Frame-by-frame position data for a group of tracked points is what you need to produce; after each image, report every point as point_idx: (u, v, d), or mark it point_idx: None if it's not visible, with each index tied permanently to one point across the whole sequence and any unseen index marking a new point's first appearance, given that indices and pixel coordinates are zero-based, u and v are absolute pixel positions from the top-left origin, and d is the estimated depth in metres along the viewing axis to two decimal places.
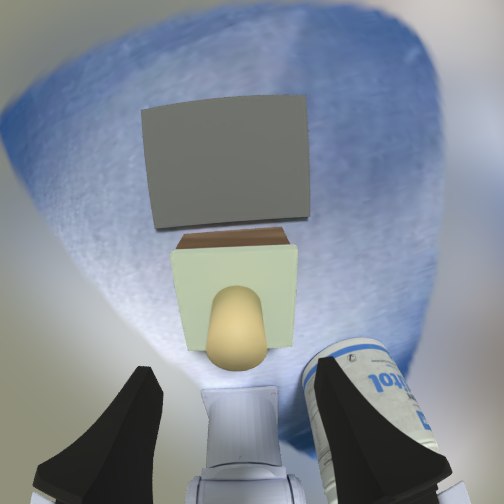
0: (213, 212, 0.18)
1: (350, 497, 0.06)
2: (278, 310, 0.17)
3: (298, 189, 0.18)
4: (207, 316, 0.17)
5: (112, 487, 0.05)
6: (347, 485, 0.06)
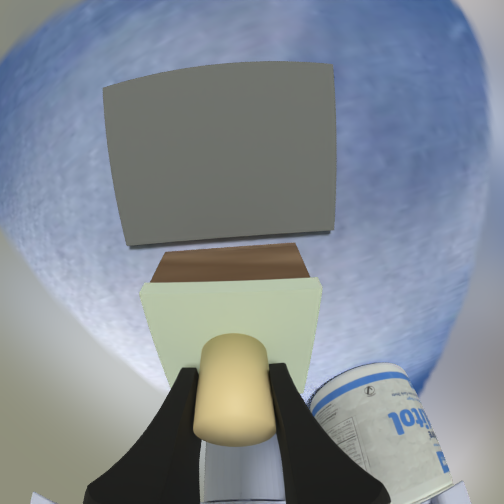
0: (202, 225, 0.13)
1: None
2: (289, 359, 0.12)
3: (320, 194, 0.13)
4: (196, 365, 0.12)
5: (173, 499, 0.05)
6: (288, 496, 0.06)
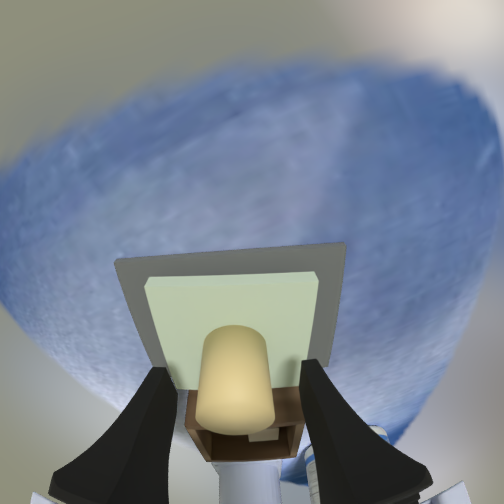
0: None
1: (330, 502, 0.06)
2: (287, 351, 0.13)
3: (319, 348, 0.15)
4: (197, 357, 0.13)
5: (132, 492, 0.05)
6: (327, 490, 0.06)
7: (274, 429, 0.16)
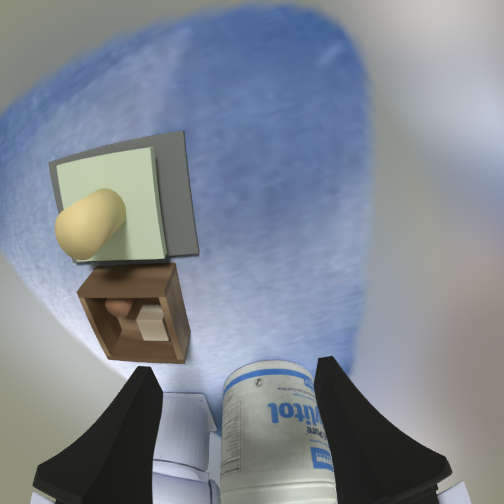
0: None
1: (350, 497, 0.06)
2: (141, 214, 0.16)
3: (183, 228, 0.18)
4: None
5: (112, 487, 0.05)
6: (347, 485, 0.06)
7: (159, 321, 0.19)
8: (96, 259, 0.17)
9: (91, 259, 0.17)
